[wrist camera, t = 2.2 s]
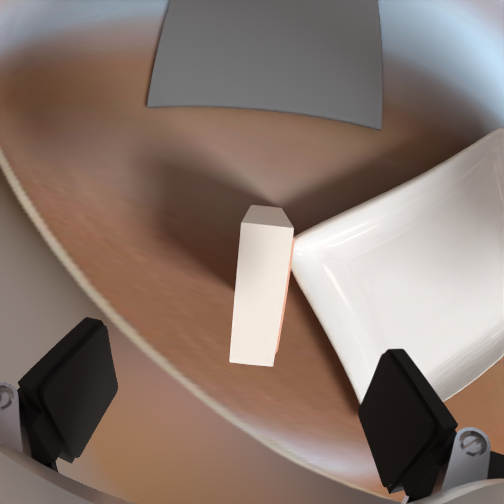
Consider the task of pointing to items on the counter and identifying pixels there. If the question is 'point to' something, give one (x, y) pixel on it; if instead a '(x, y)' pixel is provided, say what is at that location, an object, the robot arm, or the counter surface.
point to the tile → (261, 285)
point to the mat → (273, 58)
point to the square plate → (415, 272)
